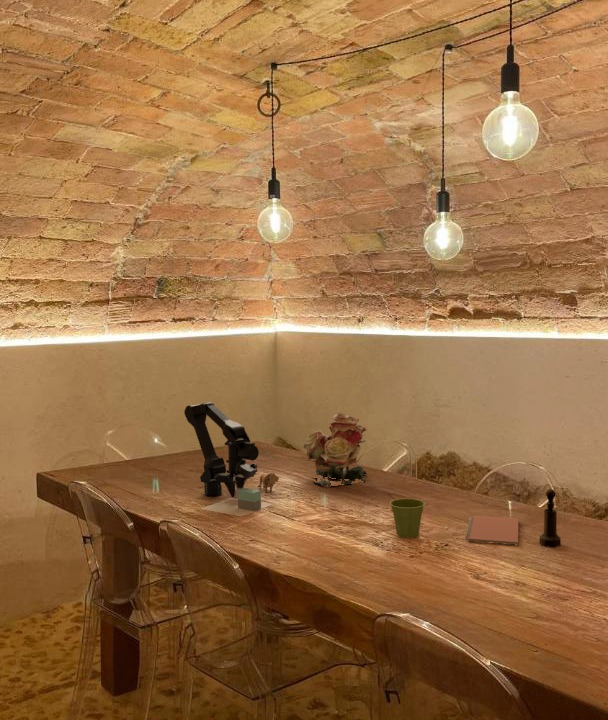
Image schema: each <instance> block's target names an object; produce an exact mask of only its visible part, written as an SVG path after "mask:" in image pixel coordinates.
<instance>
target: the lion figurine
mask: <svg viewBox="0 0 608 720" xmlns="http://www.w3.org/2000/svg"><path fill="white" fill-rule="evenodd" d="M279 480H280V477H279V476H278V475H276V473H275V472H270V473H268V474H265V473H263V474H260V476H259V485H257V487H258V488H259V491H262V489H263V488H265V489H264V491H265V493H268V492H273V487H274V486H275V485H276V483H278V482H279ZM268 488H269V491H268Z"/></svg>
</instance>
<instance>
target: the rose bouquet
mask: <svg viewBox="0 0 608 720" xmlns="http://www.w3.org/2000/svg"><path fill="white" fill-rule="evenodd" d="M331 418H332V420H333V421H330V422H329V423H330V424H329V427H328V429H329V430H330V432H331V435H327V434H324V433H323V432H322V429H320V430H316V431H313V432H312V433H311V434H310V435H309V436H308V438H307V439H305V441H306V442H307V443H304V445H303V449H305V450H306V451H305V455H306V457H308V458H307V460H308V461H309V460H313V463H314V466H315V468H316V470H315V472H314V474H316V475H321V476H323V477H328V478H329V477H331V478H336V479H342V482H341V484H344V485H343V486H347V485H346V484H351V483H352V481H353V480H350V481H345V480H344V479H360V478H361V481H365V482H366V477H365V475H368V472H367V471H366V470H365V467H362V465H363V463H362V464H360V465H358V466H355V467H352V468H349V467H350V466H352V465H354V464H356V463H357V459H358V457H359V454H360V451H361V445H360V444H363V443H364V445H365V443H366V442H367V440H363V439H364V438H363V437H364V435H363V433H364V432H366V431H367V428H365V427H363V426H362V425H357V423H358V422H359V421H360V419H359V418H357V419H356V418H355V417H354V416H353V417H352V416H349V415H347V414H343V413H342V412H338V413H336V414H335V415H332V416H331ZM364 474H365V475H364ZM320 480H321V481H319V482H315V484H316V483H317V484H319V485H321V486H322V487H323V486H327V485H328V486H330V485H331V483H330V481H326V480H323V479H320Z"/></svg>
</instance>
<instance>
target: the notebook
mask: <svg viewBox="0 0 608 720" xmlns="http://www.w3.org/2000/svg"><path fill="white" fill-rule="evenodd" d="M464 539H465V540H467V542H468V541H474V542H473V543H478V542H487V543H486V544H489V543H488V542H493V543H506V544H517V545H518V543H519V518H515V517H502V516H501V517H500V516H499V517H498V516H486V515H485V516H484V515H483V516H482V515H472V516H470V517H469V519H468V522H467V529H466V532H465V538H464Z"/></svg>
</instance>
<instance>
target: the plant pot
mask: <svg viewBox="0 0 608 720" xmlns="http://www.w3.org/2000/svg"><path fill="white" fill-rule="evenodd" d="M389 505H390V506H391V510H392V514H393V519H394V524H395V530H396V535H397V536H398V538H403V539H410V538H411V539H415V538H417V537H418V536H419V534H420V529H421V521H422V515H423V511H424V507H425V505H426V502H425V501H424V500H421V499H418V498H417V499H416V498H406V497H405V498H397V499H393V500H390V502H389Z"/></svg>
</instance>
